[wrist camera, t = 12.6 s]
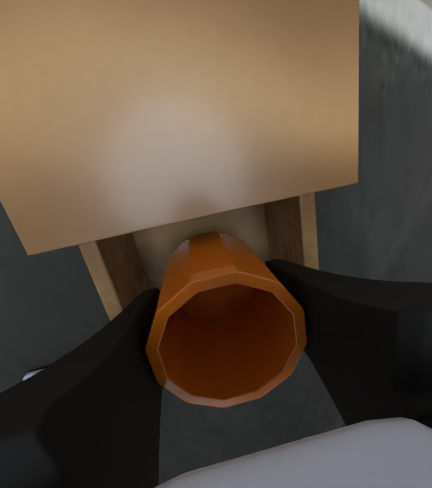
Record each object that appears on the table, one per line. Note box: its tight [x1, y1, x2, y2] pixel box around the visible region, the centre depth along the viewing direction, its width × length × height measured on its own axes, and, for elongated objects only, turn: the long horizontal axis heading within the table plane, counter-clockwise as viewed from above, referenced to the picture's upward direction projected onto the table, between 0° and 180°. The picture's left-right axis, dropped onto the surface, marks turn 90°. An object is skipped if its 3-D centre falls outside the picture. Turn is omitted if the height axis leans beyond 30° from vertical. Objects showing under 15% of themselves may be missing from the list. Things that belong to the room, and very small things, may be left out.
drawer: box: [78, 193, 319, 321], centre depth 14 cm, size 19×12×7 cm, turn 11°
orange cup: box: [145, 232, 307, 408], centre depth 10 cm, size 5×5×5 cm
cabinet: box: [0, 0, 359, 255], centre depth 11 cm, size 16×14×9 cm
